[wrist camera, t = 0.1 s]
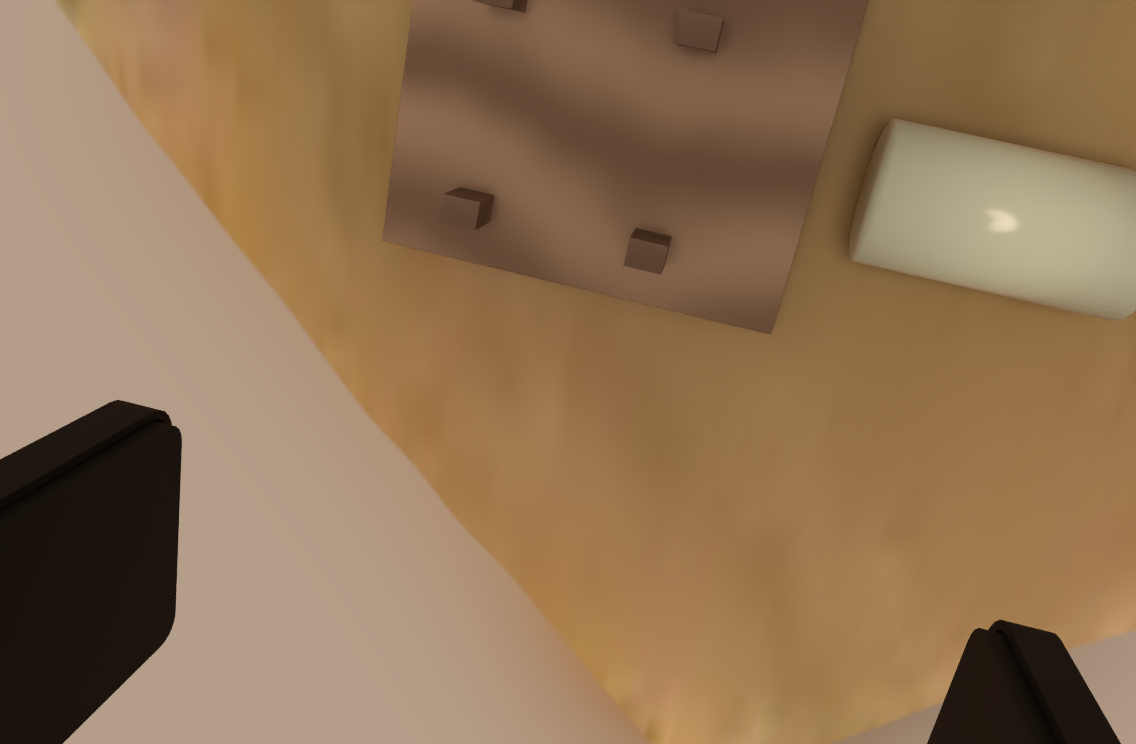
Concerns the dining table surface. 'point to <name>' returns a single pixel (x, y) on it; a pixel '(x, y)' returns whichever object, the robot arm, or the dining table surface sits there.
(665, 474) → the dining table surface
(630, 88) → the walnut cradle
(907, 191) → the sage bottle
